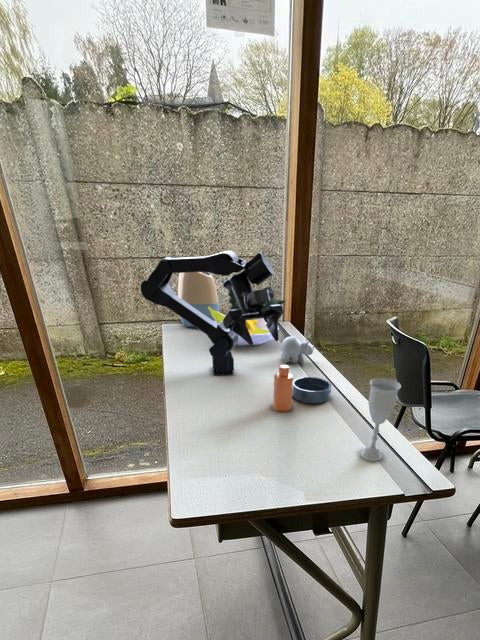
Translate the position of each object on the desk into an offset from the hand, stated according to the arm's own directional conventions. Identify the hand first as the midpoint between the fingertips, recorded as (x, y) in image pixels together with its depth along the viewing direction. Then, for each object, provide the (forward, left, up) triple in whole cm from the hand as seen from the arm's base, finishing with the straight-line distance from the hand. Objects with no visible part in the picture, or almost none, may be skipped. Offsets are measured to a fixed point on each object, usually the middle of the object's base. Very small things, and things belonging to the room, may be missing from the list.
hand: (264, 342), depth 129 cm
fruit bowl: (0, +49, -14) cm, 51 cm away
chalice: (+18, -46, -14) cm, 51 cm away
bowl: (+13, -9, -14) cm, 21 cm away
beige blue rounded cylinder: (-16, +74, -14) cm, 77 cm away
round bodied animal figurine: (+16, +23, -14) cm, 32 cm away
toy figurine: (+10, +78, -14) cm, 80 cm away
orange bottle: (+2, -16, -14) cm, 21 cm away
